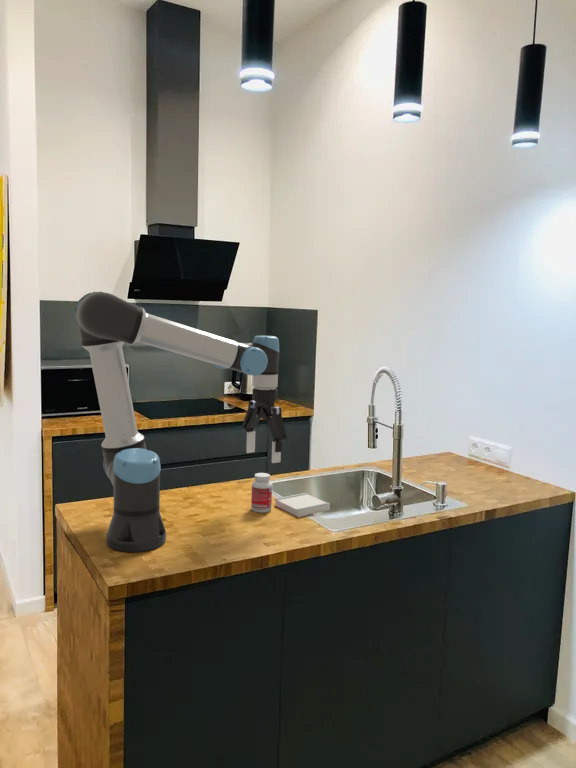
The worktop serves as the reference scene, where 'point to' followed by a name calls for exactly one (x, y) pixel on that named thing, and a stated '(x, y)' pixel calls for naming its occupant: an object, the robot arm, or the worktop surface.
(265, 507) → the pill bottle
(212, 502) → the worktop surface
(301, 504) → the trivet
